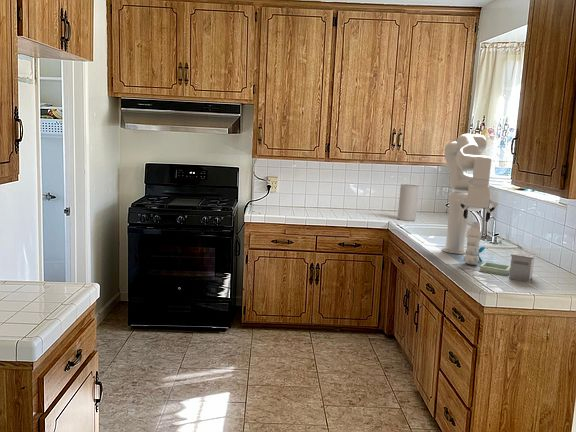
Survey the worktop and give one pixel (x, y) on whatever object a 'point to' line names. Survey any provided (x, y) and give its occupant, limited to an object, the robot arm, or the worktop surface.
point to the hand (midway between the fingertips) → (476, 219)
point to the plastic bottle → (473, 244)
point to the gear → (480, 252)
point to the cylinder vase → (408, 202)
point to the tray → (495, 268)
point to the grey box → (521, 266)
